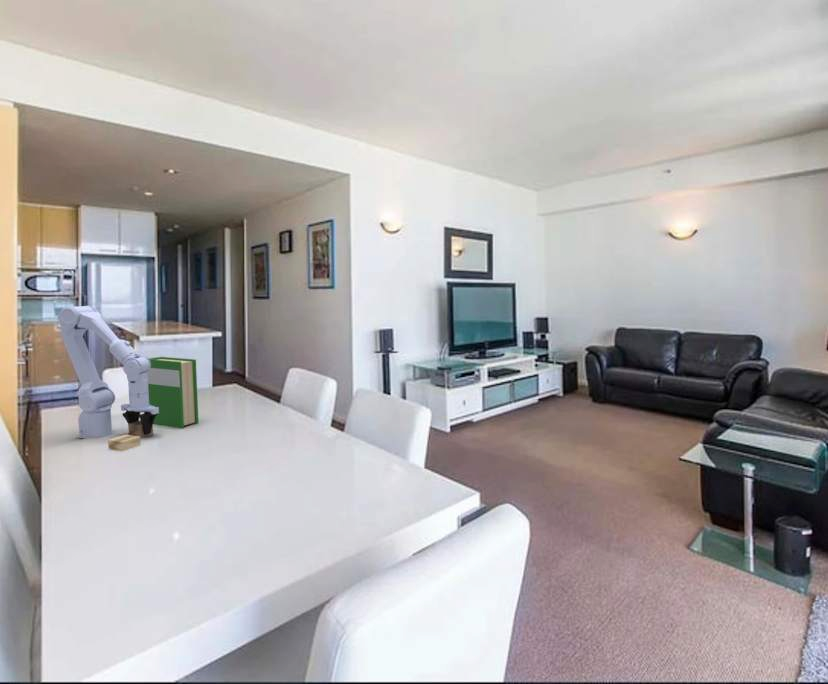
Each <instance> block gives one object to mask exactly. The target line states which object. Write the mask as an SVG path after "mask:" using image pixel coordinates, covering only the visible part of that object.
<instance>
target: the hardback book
mask: <svg viewBox="0 0 828 684" xmlns="http://www.w3.org/2000/svg"><path fill="white" fill-rule="evenodd" d="M148 359H149V360H150V362H151V368H150V370H149V371H148V390H149V405H152V406H154V407H159V413H157V416H156V418H155V420H154V422H153V425H155V426H156V425H157V426H163V427H169V428H175V429H184V428H185V426H187V425H190V424H192V425H199V403H198V382H197V381H198V379H197V377H198V376H197V360H196V359H194V358H182V357H181V358H179V357H167V356H158V357H151V358H148Z"/></svg>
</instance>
